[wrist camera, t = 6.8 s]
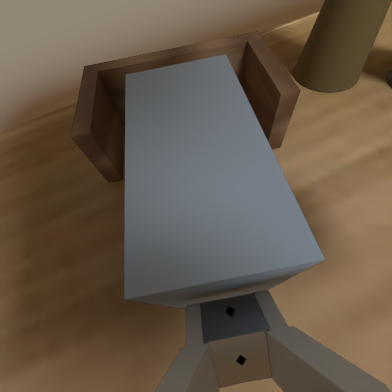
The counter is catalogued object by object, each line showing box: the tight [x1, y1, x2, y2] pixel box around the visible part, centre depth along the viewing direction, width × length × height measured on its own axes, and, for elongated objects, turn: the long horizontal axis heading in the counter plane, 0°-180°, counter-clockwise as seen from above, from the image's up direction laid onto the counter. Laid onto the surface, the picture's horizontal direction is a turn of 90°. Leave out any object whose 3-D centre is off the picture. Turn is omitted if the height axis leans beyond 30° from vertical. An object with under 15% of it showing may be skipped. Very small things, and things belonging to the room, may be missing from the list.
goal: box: [71, 31, 300, 182], centre depth 17 cm, size 14×8×5 cm, turn 100°
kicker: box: [124, 54, 325, 309], centre depth 11 cm, size 5×10×8 cm, turn 10°
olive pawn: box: [294, 0, 392, 93], centre depth 16 cm, size 6×6×11 cm
